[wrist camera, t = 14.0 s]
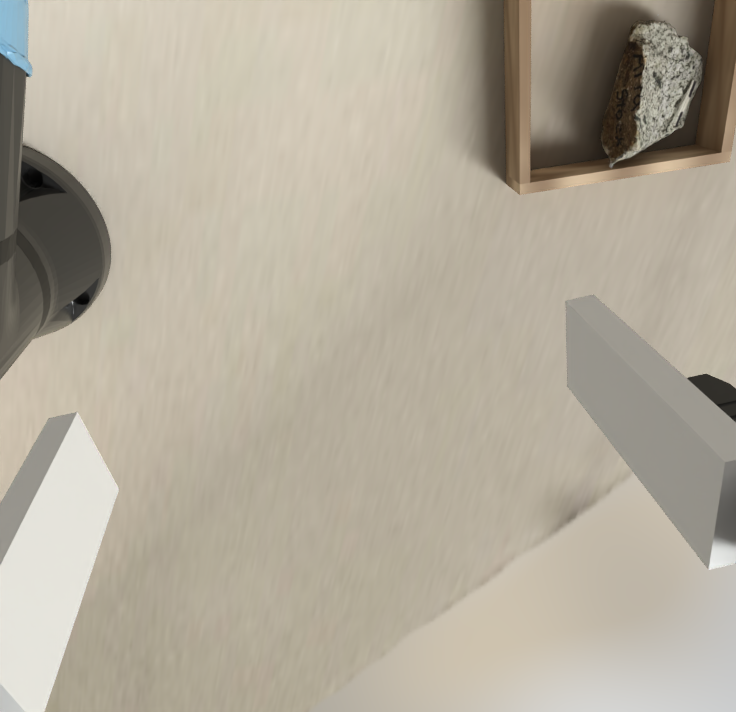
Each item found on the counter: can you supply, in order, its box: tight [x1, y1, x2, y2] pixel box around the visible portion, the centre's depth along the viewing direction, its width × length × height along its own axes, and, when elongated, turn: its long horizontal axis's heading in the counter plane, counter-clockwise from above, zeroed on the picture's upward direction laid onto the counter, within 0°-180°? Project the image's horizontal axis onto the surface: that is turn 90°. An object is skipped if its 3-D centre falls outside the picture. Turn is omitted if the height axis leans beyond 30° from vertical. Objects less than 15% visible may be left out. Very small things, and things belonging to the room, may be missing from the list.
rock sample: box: [600, 14, 703, 168], centre depth 45 cm, size 10×8×9 cm
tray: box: [504, 0, 736, 195], centre depth 44 cm, size 17×16×4 cm
